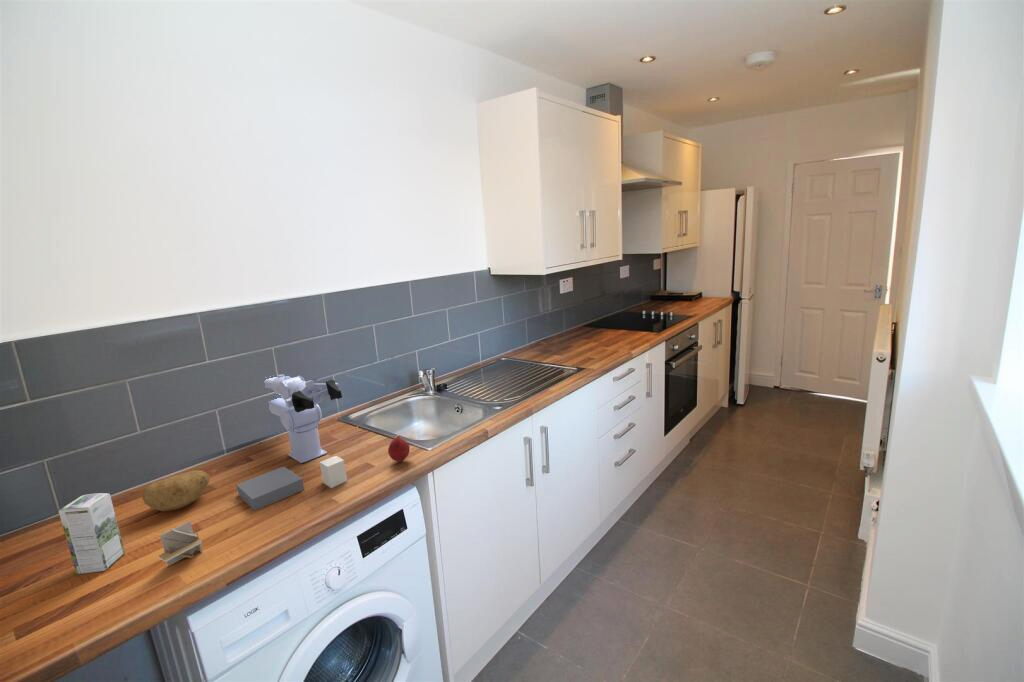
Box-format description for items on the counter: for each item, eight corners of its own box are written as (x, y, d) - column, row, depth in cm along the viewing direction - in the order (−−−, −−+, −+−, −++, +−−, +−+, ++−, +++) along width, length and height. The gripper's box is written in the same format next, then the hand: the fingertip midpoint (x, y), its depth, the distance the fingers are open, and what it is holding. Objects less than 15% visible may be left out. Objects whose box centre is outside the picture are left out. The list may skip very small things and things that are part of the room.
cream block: (323, 483, 126) (319, 462, 124) (339, 476, 129) (335, 455, 127) (331, 488, 123) (327, 466, 121) (347, 481, 126) (343, 460, 124)
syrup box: (97, 556, 101) (79, 494, 98) (127, 553, 101) (109, 491, 98) (76, 575, 95) (55, 510, 92) (107, 571, 96) (87, 506, 93)
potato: (219, 499, 121) (212, 470, 120) (152, 525, 112) (144, 494, 110) (207, 487, 128) (201, 460, 126) (143, 511, 118) (135, 482, 116)
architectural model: (206, 556, 99) (199, 524, 97) (169, 577, 93) (160, 543, 92) (198, 551, 101) (191, 520, 99) (161, 571, 95) (152, 538, 94)
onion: (405, 467, 131) (402, 440, 129) (386, 466, 132) (382, 440, 130) (414, 457, 136) (410, 431, 135) (395, 457, 137) (391, 431, 136)
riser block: (238, 495, 123) (236, 484, 122) (285, 476, 131) (283, 466, 130) (254, 510, 114) (252, 499, 114) (304, 489, 123) (302, 478, 122)
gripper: (275, 387, 129) (295, 394, 120) (326, 371, 139) (348, 376, 130) (282, 411, 131) (302, 420, 121) (331, 393, 141) (354, 400, 131)
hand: (326, 399), depth 126 cm, fingers open, 7 cm apart
